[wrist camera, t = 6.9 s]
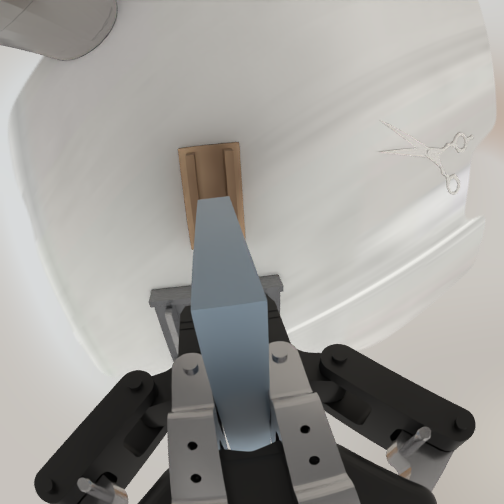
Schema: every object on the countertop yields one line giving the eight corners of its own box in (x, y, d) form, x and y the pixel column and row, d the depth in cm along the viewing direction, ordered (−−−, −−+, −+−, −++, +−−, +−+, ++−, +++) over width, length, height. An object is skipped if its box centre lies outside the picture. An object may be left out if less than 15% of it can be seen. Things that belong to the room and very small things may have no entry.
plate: (218, 335, 17) (235, 461, 9) (197, 199, 14) (190, 310, 5) (242, 332, 18) (270, 456, 10) (229, 196, 14) (267, 300, 6)
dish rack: (175, 362, 39) (175, 382, 36) (151, 290, 33) (147, 310, 29) (277, 349, 41) (283, 368, 38) (278, 274, 34) (286, 293, 31)
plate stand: (191, 245, 31) (191, 258, 28) (178, 148, 26) (175, 151, 23) (244, 239, 31) (248, 251, 29) (238, 142, 26) (241, 144, 24)
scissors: (462, 197, 34) (372, 178, 30) (459, 195, 34) (368, 177, 31) (473, 135, 29) (383, 94, 25) (470, 134, 30) (380, 95, 26)
